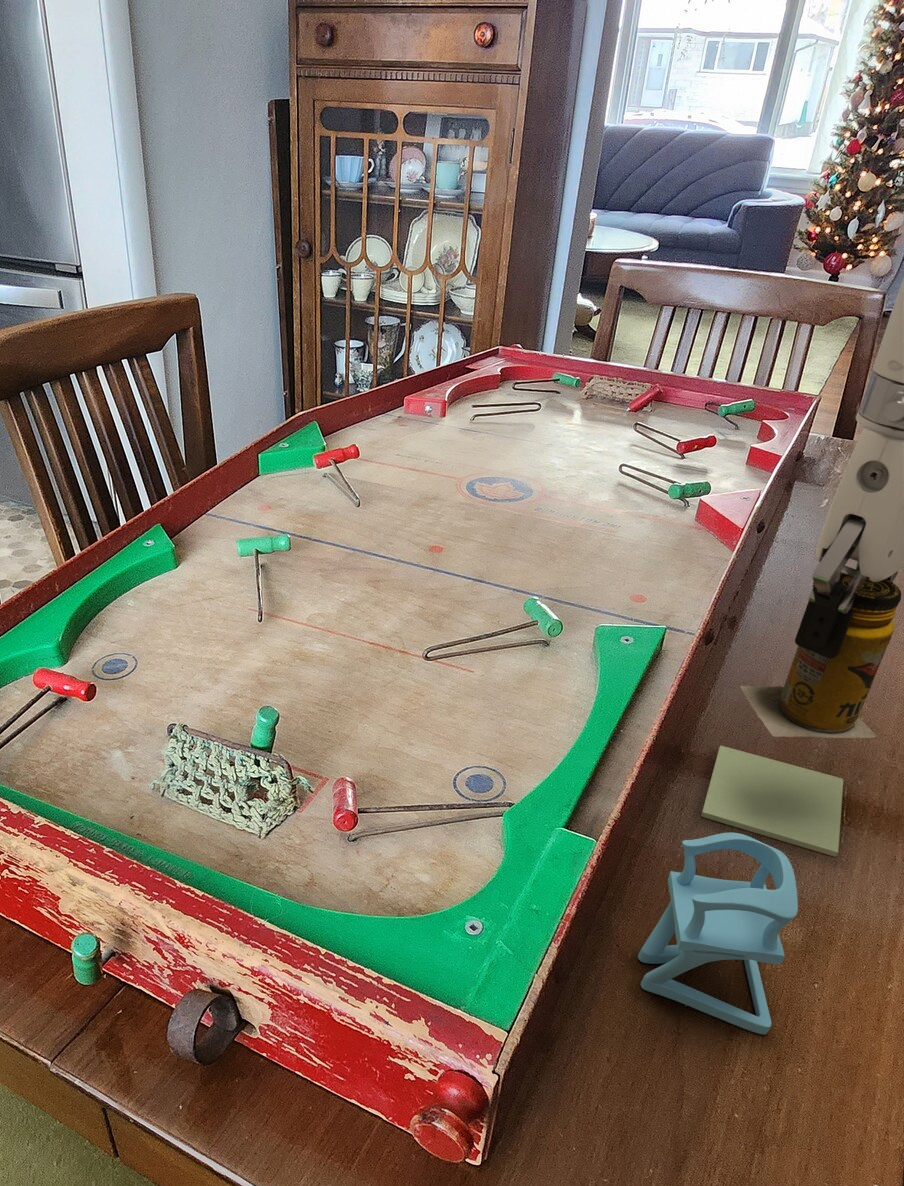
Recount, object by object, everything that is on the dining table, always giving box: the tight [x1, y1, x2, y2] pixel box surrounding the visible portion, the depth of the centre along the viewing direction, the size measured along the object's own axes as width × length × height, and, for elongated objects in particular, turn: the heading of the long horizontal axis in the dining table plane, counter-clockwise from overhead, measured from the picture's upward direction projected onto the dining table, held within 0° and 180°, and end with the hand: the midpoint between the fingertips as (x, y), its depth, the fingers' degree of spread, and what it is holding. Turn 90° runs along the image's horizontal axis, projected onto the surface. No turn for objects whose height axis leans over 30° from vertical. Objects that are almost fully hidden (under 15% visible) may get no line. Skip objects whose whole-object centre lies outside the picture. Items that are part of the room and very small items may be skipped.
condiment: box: [739, 573, 902, 739], centre depth 72 cm, size 7×8×12 cm
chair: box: [637, 832, 799, 1036], centre depth 61 cm, size 8×8×12 cm
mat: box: [700, 745, 844, 858], centre depth 81 cm, size 11×11×1 cm
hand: (835, 634), depth 72 cm, fingers closed on condiment, 6 cm apart
